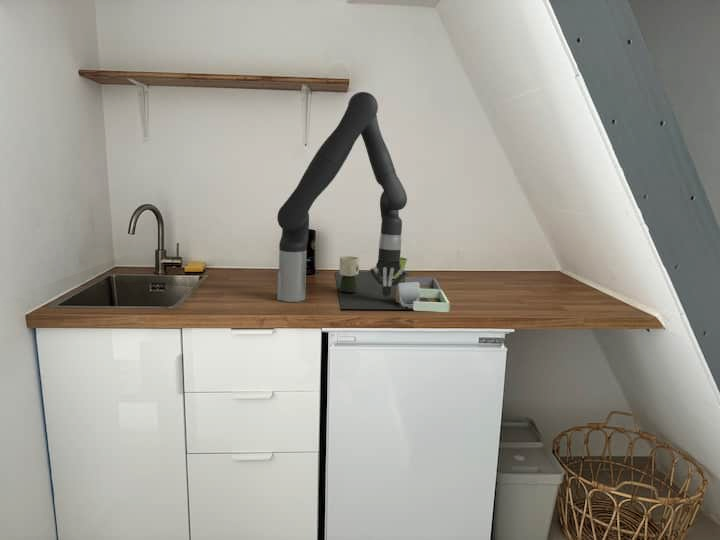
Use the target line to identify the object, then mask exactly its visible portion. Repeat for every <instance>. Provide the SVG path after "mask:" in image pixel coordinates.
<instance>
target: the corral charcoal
mask: <svg viewBox="0 0 720 540" xmlns="http://www.w3.org/2000/svg"><path fill="white" fill-rule="evenodd" d="M404 277H405V279H404V283H407V282H419V284H420V286H426V287H427V286H429V287H433V289H435V290H442V291H443V289H442V287H441V286H440V284H439V283H438V281H437V279H436V278H433V277H415V276H414V277H413V276H404ZM420 289H431V288H428V287H427V288H425V287H424V288H423V287H420Z"/></svg>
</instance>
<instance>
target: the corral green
mask: <svg viewBox="0 0 720 540" xmlns="http://www.w3.org/2000/svg"><path fill="white" fill-rule="evenodd" d="M420 298H426V299H427V298H429V299H430V298H431V299H439V300H440V302H437V301H421V300H420V301H413V308H412V311H413V310H414V312H415V311H417V312H438V313H450V307H451V302H450V301H449V299H448V298H447V296H446V295H445V293H444V291H443V289H442V290H435V289H434V288H430V289H420Z"/></svg>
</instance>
